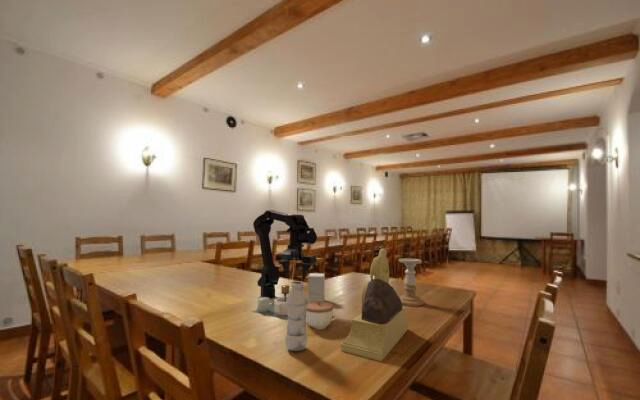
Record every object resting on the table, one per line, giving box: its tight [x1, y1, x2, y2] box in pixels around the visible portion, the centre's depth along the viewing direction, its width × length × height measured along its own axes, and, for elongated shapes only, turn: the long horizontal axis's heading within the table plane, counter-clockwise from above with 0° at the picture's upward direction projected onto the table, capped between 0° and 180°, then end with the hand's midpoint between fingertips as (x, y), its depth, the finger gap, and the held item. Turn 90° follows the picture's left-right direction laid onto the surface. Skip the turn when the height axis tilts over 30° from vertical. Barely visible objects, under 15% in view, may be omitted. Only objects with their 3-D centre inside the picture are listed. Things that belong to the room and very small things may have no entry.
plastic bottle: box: [284, 280, 308, 352], centre depth 93 cm, size 6×7×20 cm
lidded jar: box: [306, 300, 334, 331], centre depth 112 cm, size 11×11×9 cm
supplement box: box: [307, 272, 326, 302], centre depth 144 cm, size 7×7×13 cm
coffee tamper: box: [280, 284, 290, 302], centre depth 126 cm, size 6×6×9 cm
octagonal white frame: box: [273, 296, 288, 316], centre depth 125 cm, size 8×10×5 cm
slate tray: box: [251, 302, 288, 321], centre depth 127 cm, size 22×16×1 cm
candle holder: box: [398, 257, 425, 307], centre depth 144 cm, size 12×12×20 cm
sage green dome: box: [256, 296, 271, 314], centre depth 127 cm, size 5×5×5 cm
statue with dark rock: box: [339, 248, 408, 362], centre depth 102 cm, size 28×13×30 cm, turn 149°
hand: (295, 277), depth 136 cm, fingers open, 9 cm apart
